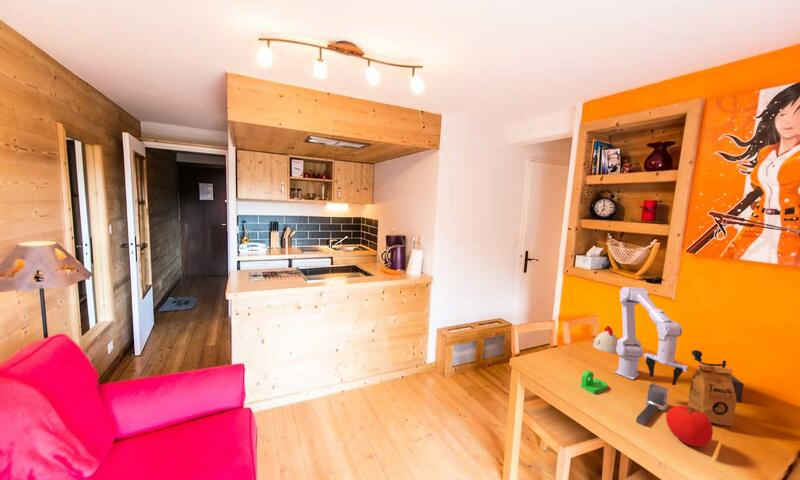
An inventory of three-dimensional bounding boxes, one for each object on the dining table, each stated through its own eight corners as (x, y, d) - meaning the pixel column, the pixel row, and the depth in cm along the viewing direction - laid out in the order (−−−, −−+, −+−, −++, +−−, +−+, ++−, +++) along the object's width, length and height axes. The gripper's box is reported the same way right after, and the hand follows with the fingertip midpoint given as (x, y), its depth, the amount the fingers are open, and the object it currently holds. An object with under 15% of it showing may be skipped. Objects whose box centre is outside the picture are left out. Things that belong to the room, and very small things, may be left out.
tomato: (714, 445, 113) (719, 411, 112) (705, 458, 106) (710, 423, 105) (670, 425, 123) (674, 394, 122) (659, 436, 116) (663, 403, 115)
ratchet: (648, 399, 140) (650, 387, 140) (668, 407, 135) (670, 395, 134) (629, 419, 126) (630, 405, 125) (651, 429, 120) (653, 415, 120)
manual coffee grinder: (726, 391, 150) (732, 354, 149) (741, 404, 140) (747, 364, 138) (685, 383, 156) (690, 347, 154) (697, 395, 145) (702, 357, 144)
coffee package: (737, 431, 122) (746, 375, 120) (697, 423, 125) (704, 369, 123) (720, 415, 131) (728, 363, 129) (683, 408, 135) (690, 358, 133)
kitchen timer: (598, 354, 185) (601, 329, 183) (588, 344, 198) (591, 321, 197) (625, 357, 182) (628, 332, 181) (613, 347, 196) (616, 323, 195)
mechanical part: (593, 394, 143) (595, 377, 142) (580, 387, 148) (582, 371, 147) (609, 388, 148) (611, 372, 148) (596, 382, 154) (598, 366, 153)
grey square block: (651, 396, 139) (652, 382, 138) (666, 402, 135) (668, 388, 134) (647, 400, 136) (648, 386, 135) (662, 406, 131) (664, 392, 131)
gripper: (642, 345, 140) (639, 375, 142) (686, 359, 129) (681, 391, 130) (648, 342, 144) (644, 371, 146) (690, 354, 133) (686, 385, 134)
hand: (662, 380), depth 138 cm, fingers open, 7 cm apart
